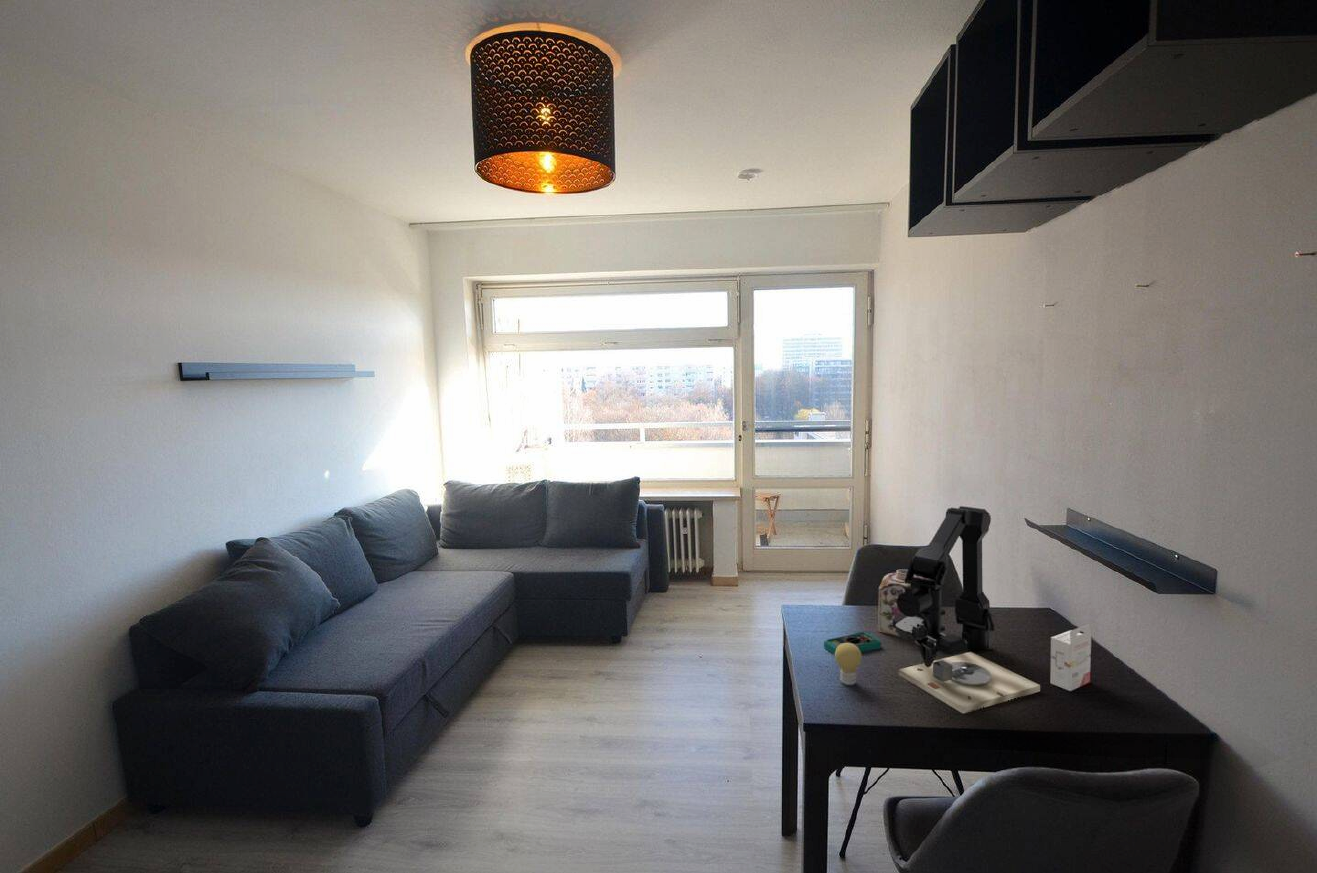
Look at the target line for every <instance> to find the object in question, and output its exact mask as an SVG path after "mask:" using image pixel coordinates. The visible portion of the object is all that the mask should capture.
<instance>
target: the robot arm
mask: <svg viewBox="0 0 1317 873" xmlns="http://www.w3.org/2000/svg"><path fill="white" fill-rule="evenodd" d="M991 521H992V517H991V514H990V513H989V512H988V511H987V510H986V509H985V508H977V507H972V506H963V505H960V506H959V507H948V508H947V509H946V511H945V517H944V519H943V520H942V522H941V524H940V525H939V527H938V529H937V531H936V532H935V533H934V535H933V537H932V539H931V540H930V542H929V543H928V544H927V545H924V546H922V547H920V548H919V549H918V551H917V552H916V553H915V554H914V555H913V557H912V558H911V560H910V563H909V566H908V569H907V570H908V572H907V575H906V578H905V583H909V584H911V586H907V587H905V592H903V593H901V594H900V595H899V596H898V599H897V606H898V609H899V610H900V612H901V613H902V614H903V615H899V616H895V618H894V619H893V627H894V628H896V629H897V632H898V635H899V638H900V639H901V638H902V639H904V640H905V641H906V642H908V643H916V645H917V647H918V649H919V652H920V654H921V657H922V658H921V659H922V661H923V663H924V664H925V666H926V667H931V665H932V663H933V662H934V661H935V660H936V658H937V656H938V655H939V653H940V652H941V653H943V654H945V655H948V656H952V655H953V656H954V655H958V654H960V653H961V654H962V653H966V652H968V650H969V652H972V653H974V654H979V653H984V652H988V651H992V650H994V646H992V645H990V644H989V642H990V641H989V640H990V636H989V635H990V632H993V631H996V626H997V619H996V616H995V615H994V613H993V612H992V610H991V607H990V606H991V605H990V604H991V603H990V600H989V598H988V597H987V595H986V594H985V593H984V591H983V590H984V589H983V586H984V585H983V539H984V537H985V536H986V535H987V533H988V532H989V530H990V525H991ZM959 538H960V539H961V551H962V552H961V553H962V561H961V562H962V592H961V593H960V594H959V596H958V597H957V598H956V599H955V600H954V601H955V602H954V603H955V606H954V615H955V620H956V624H958V625H962V631H961V636H959V635H957V634H955V633H949V634H945V633H943V632H944V631H946V627H945V626H944V625H942V616H944V615H946V610H945V609H943V608H942V596H943V595H942V589H943V588H942V586H943V585H945V580H946V577H947V575H948V573H949V572H948V571H949V567H950V565H949V561H948V557H949V555H950V553H951V552H952V550H953V548H954V546H955V545H956V542H957V541H958V539H959ZM914 575H916V576H919V577H923V578H924V579H922V578H917V577H913V576H914Z"/></svg>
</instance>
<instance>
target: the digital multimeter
mask: <svg viewBox="0 0 1317 873" xmlns="http://www.w3.org/2000/svg"><path fill="white" fill-rule="evenodd" d="M842 643H852V644H854V645H856V646H857V647H858V648H859V650H860V651H861V653H864V652H871V651H874V650H880V649H881V648H882V641H881V640H880V639H878V638H877V637H876V636H874V635H873V634H870V633H868V632H866V631H861V632H857V633H852V634H849V635H848V634H847V635H845V636H840V637H833V638H829V639H826V640H823V647H825V648H826V650H827V651H828V652H829V653H831V654H832V655H834V654H835V651H836V648H837V647H838V646H839V645H840V644H842ZM825 648H824V649H825Z"/></svg>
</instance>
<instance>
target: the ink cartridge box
mask: <svg viewBox="0 0 1317 873" xmlns="http://www.w3.org/2000/svg"><path fill="white" fill-rule="evenodd" d="M1081 632H1083V633H1081ZM1091 652H1092V634H1091V625H1090V624H1086V625H1084V626H1080V627H1077V628H1074V629H1073V630H1072V629H1071V630H1067V631H1065V632H1062V633H1060V634H1057V635H1054V636H1051V637H1050V684H1051V685H1053V686H1056V687H1059V688H1062V689H1063V690H1066V691H1069V692H1072V691H1074V690H1076V689H1078V688H1080V687H1082V686H1085V685H1087V684H1089V683H1090V682H1091V659H1092V657H1091V654H1092V653H1091Z"/></svg>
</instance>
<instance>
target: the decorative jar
mask: <svg viewBox="0 0 1317 873" xmlns="http://www.w3.org/2000/svg"><path fill="white" fill-rule="evenodd" d="M907 572H908V569H906V568H905V569H897V570H896V572H891V573H888V574H885V575H884V576H883V578H882V580H881V582H880V585H879V587H878V607H877V608H878V609H877V610H878V616H877V617H878V618H877V619H878V624H877V625H878V631H879V633H883V634H888V635H890V634H891V636H894V635H895V637H899V635H898V632H897V629H896V628H894V627H893V619H894V618H895V616H899V615H903V614H902V613H901V612H900V610H899V609H898V606H897V599H898V596H899V595H900V594H901V593H903V592H905V587H907V586H911V584H909V583H905V578H906V575H907ZM913 577H917V578H922V579H925V578H924V577H919V576H916V575H914V576H913ZM899 638H900V637H899Z"/></svg>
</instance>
